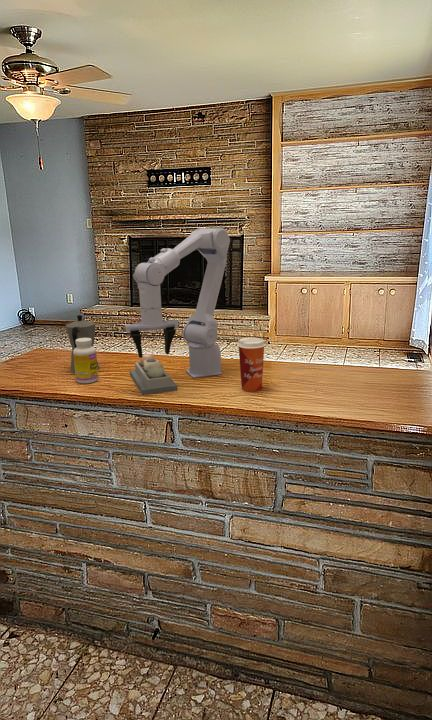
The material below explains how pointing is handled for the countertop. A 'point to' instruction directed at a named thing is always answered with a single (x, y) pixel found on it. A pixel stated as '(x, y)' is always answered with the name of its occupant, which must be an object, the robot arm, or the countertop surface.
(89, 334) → the coffeepot
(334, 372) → the countertop surface
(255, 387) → the paper cup
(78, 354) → the supplement bottle
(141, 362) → the terracotta button
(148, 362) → the ivory button
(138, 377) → the button board
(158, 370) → the sage button
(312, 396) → the countertop surface
